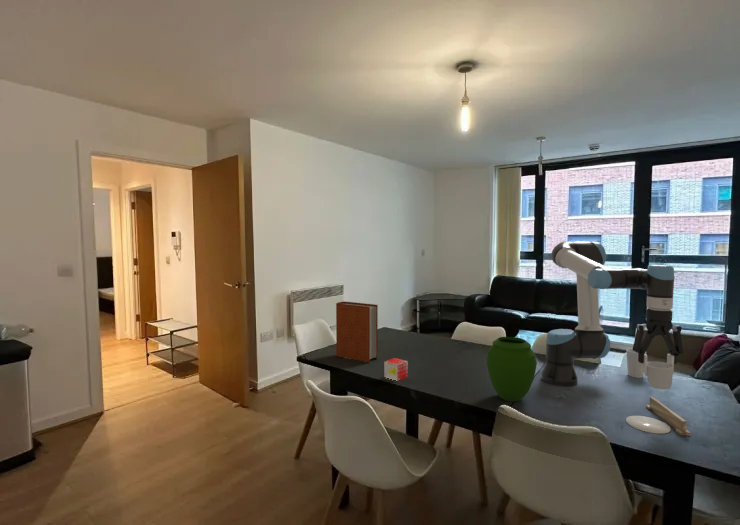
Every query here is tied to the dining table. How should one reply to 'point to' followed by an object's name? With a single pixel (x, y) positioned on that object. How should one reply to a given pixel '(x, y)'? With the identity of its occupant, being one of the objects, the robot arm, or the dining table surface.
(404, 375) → the puzzle cube
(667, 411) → the rail
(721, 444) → the dining table surface
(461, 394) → the dining table surface
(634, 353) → the cup
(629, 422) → the coaster
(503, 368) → the vase
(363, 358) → the book
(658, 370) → the cup
